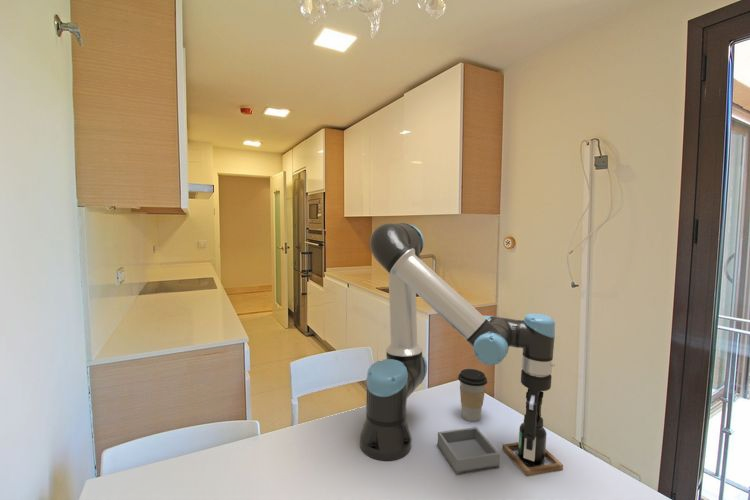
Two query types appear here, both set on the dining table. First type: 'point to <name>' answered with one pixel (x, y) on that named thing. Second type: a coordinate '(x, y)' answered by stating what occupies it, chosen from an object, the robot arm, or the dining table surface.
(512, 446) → the wooden square frame
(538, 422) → the supplement bottle
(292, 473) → the dining table surface
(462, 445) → the bin
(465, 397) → the coffee cup
